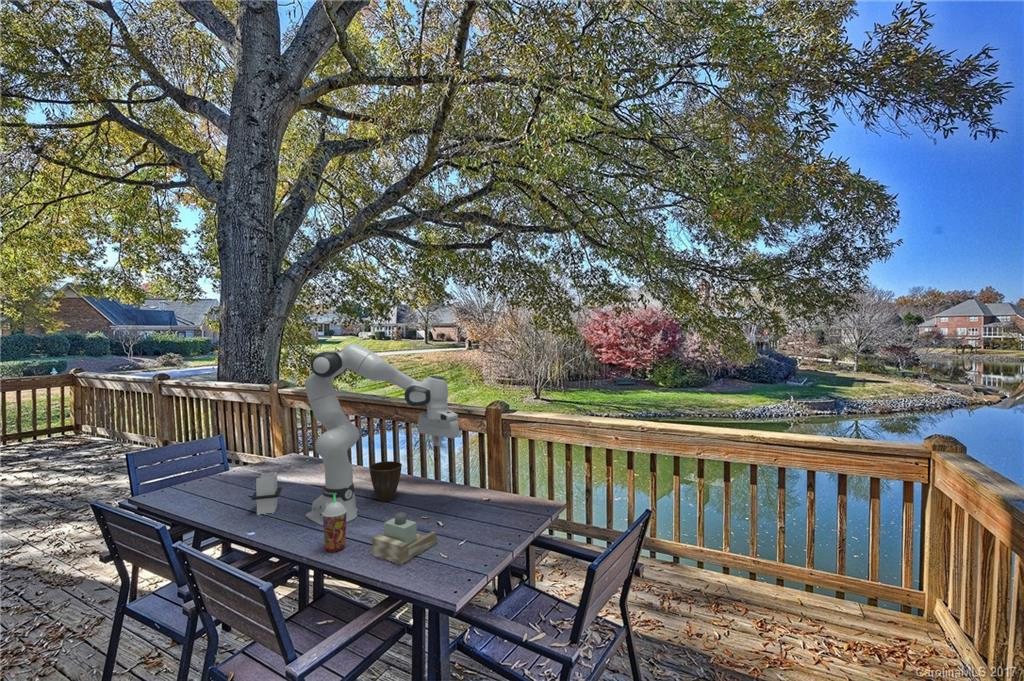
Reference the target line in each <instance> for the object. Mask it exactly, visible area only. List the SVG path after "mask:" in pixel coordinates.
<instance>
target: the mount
mask: <svg viewBox="0 0 1024 681" xmlns="http://www.w3.org/2000/svg"><path fill="white" fill-rule="evenodd" d="M436 543H437V544H438V539H437V531H435V530H434V531H433V530H432V531H431V532H429V533H428V534H425V535H424V534H420V533H417V541H415V542H414V543H412V544H410V545H407V543H405V542H402V541H399V540H396V539H392V538H389V537H386V536H385V535H381V534H379V533H378V534H377V535H374V536H373V537H371V546H372V547H371V549H372V550H371V551H372V552H371V553H372V554H371V555H372V556H373V557H376V558H378V557H379V558H378V559H381V558H383V559H382V560H384V559H386V560H385V561H387V560H389V561H388V562H390V561H392V562H391V563H393V562H395V563H394V564H396V563H398V564H397V565H399V564H401V565H400V566H403V565H405V564H406V563H408V562H409V561H411V560H413V559H414V558H415V557H414V556H416V555H418V554H419V555H421V554H422V553H424V552H426V551H427V550H429V549H431V548H432V547H434V546H436V545H437V544H436ZM433 545H434V546H433ZM431 546H432V547H431ZM430 547H431V548H430ZM428 548H429V549H428ZM426 549H427V550H426ZM425 550H426V551H425ZM423 551H424V552H423ZM421 552H422V553H421ZM420 553H421V554H420ZM419 555H418V556H419ZM413 557H414V558H413ZM416 557H417V556H416ZM412 558H413V559H412ZM410 559H411V560H410ZM408 560H409V561H408ZM407 561H408V562H407ZM405 562H406V563H405ZM404 563H405V564H404ZM402 564H403V565H402Z"/></svg>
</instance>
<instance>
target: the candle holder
mask: <svg viewBox="0 0 1024 681" xmlns="http://www.w3.org/2000/svg"><path fill="white" fill-rule="evenodd" d="M260 476H261V477H258V478H256V480H255V487H256V490H255V492H254V493H253V495H252V497H251V501H256V516H261V515H260V514H264V515H267V514H266V513H272V514H274V513H273V512H275V513H276V511H277V509H278V498H279V496H280V495H281V493H282V489H283V488H282V486H281V487H280V486H278V472H277V471H272V472H263V473H261V475H260ZM276 508H277V509H276ZM275 510H276V511H275Z"/></svg>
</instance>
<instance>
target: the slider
mask: <svg viewBox="0 0 1024 681" xmlns="http://www.w3.org/2000/svg"><path fill="white" fill-rule="evenodd" d="M383 525H384V532H383V533H384V536H386V537H389V538H392V539H396V540H399V541H402V542H405V543H407V545H410V544H412V543H414V542H415V541H417V534H418V533H417V532H418V530H417V529H418V526H417V522H416V521H412V520H410V519H409V520H408V519H407V513H406V512H404V511H402V512H401V511H398V512H396V513H394V518H391V519H389V520H387V521H385V522H384V524H383Z"/></svg>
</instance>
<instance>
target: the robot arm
mask: <svg viewBox="0 0 1024 681" xmlns="http://www.w3.org/2000/svg"><path fill="white" fill-rule="evenodd" d="M310 369H311V372H313V373H311V374H309V375H307V377H305V379H304V388H305V393H306V395H307V400H308V402H309V405H310V408H311V411H312V413H313V416H314V419H315V420H316V421H317V422H318V423H320V424H321V425H322V426H323V427H324V429H325V430H326V431H324V432H323V433H322V434H321V435H320V436H318V438H317V439H316V441H315V446H314V447H315V451H316V453H317V454H318V455H319V456H320V457H321V459H322V462H323V466H324V480H325V481H324V482H325V483H324V484H325V485H324V486H322V487H321V490H323V491H322V494H321V495H320V496H318V497H317V498H316V499H314V501H313V502H312V504H311V511H309V512H307V513H306V514H305V517H306V518H307V517H308V518H307V519H309V520H310V521H312V522H314V523H315V524H317V525H320V526H324V524H323V512H324V510H325V508H326V506H327V505H328V504H330V503H332V502H334V495H335V499H336V502H340V503H342V504H343V505H344V506H345V509H347V515H346V523H348V522H351V521H353V520H354V519H356V518H357V517H358V510H359V508H358V507H357V504H356V501H357V500H356V494H355V493H354V492H355V483H354V482H353V481H354V479H353V478H354V477H353V474H354V472H353V471H354V470H353V464H352V463H351V462H350V460H349V457H348V450H349V449H351V448H352V447H354V446H355V445H356V444H357V442H358V441H359V438H360V431H359V429H358V428H357V426H356V425H354V424H353V423H352V422H351V421H350V420H349V418H348V417H347V415H346V414H345V411H344V410H343V408H342V406H341V403H340V401H339V399H338V396H337V393H336V390H335V387H334V384H333V382H334V380H336V379H338V378H339V377H340V376H341V375H343V374H344V373H345V372H346V371H347V370H351V371H353V372H354V373H356V374H357V375H359V376H360V377H362V378H364V379H368V380H370V381H374V382H375V381H376V382H377V381H379V382H380V381H381V382H382V381H383V382H388V383H390V384H394V385H396V386H397V387H399V388H401V389H402V390H404V395H403V396H404V400H405V402H406V403H407V405H408V406H410V407H416V408H417V407H421V406H426V407H427V408H426V412H425V411H423V412H419V414H418V421H417V433H419V434H422V435H427V436H428V435H429V436H431V441H432V442H433V446H434V447H442V442H443V440H444V438H446V439H447V438H449V439H455V438H457V437H458V436H460V435H459V433H460V430H459V429H460V427H459V422H458V420H457V419H458V417H459V416H458V413H456V412H454V411H453V410H451V409H449V405H448V399H449V389H448V388H449V387H448V382H447V379H446V378H444V377H442V376H438V375H430V376H428V377H427V378H426V379H423V380H421V379H416V378H414V377H412V376H410V375H408V374H407V373H405V372H403V371H401V370H400V369H398V368H396V367H395V366H393V365H392V364H390V363H389V362H387V361H386V360H385V359H384V358H382V357H381V356H379V355H378V354H377V353H375V352H374V351H372V350H370V349H368V348H367V347H364V346H363V345H361V344H360V345H359V344H357V343H354V342H353V343H348V344H347V345H345V346H344V347H343V349H342V350H341V351H338V350H335V351H334V350H327V351H322V352H319V353H317V354H315V356H313V358H312V359H311V361H310Z"/></svg>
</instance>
